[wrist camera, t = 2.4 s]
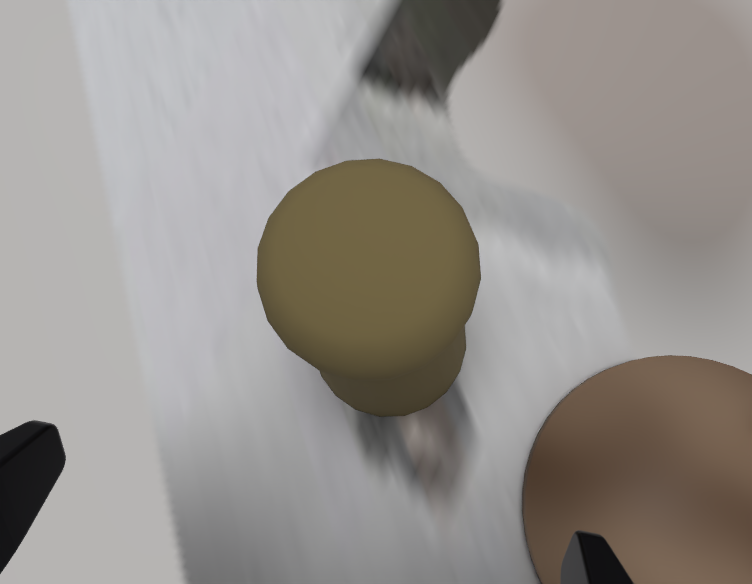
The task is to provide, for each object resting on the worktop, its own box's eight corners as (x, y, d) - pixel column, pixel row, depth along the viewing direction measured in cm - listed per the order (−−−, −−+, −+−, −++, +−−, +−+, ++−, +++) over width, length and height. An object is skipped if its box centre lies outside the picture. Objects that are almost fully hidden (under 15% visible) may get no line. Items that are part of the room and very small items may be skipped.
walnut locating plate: (863, 723, 18) (997, 808, 14) (511, 662, 19) (537, 724, 15) (838, 377, 21) (944, 361, 16) (531, 342, 22) (558, 319, 18)
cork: (286, 376, 22) (164, 316, 12) (354, 243, 23) (298, 78, 13) (428, 444, 21) (436, 448, 10) (490, 301, 22) (554, 174, 12)
